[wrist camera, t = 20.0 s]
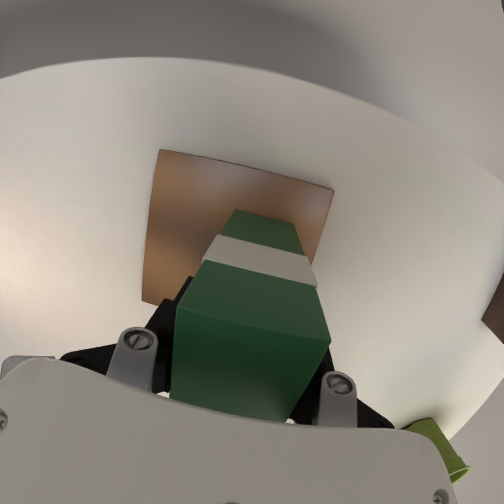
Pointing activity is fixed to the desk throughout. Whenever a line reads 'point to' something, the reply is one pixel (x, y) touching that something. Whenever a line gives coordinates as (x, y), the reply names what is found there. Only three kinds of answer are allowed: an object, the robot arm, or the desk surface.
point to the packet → (249, 323)
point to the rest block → (496, 313)
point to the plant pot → (441, 448)
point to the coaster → (217, 214)
